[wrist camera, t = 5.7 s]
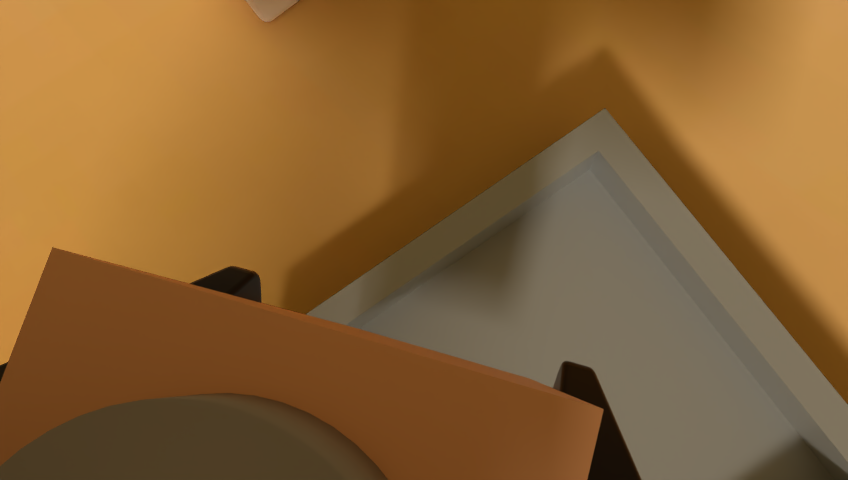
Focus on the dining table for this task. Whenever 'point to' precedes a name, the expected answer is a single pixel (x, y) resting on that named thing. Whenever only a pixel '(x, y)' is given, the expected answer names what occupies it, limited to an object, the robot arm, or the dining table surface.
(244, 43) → the dining table surface
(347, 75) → the dining table surface
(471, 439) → the block
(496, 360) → the tray
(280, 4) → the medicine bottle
